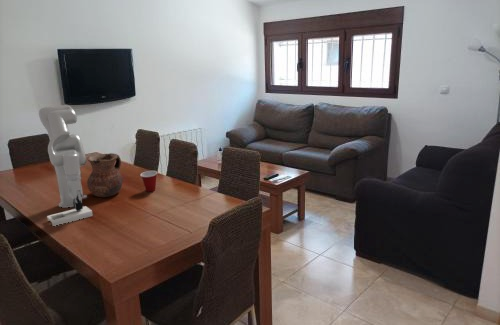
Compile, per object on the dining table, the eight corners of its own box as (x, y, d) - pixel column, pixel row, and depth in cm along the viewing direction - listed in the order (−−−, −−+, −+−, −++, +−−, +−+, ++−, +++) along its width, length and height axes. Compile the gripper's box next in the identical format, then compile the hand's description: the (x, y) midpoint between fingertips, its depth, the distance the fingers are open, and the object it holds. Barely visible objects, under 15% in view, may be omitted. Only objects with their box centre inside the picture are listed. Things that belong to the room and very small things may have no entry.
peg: (82, 213, 206) (79, 193, 203) (84, 215, 203) (81, 194, 200) (73, 215, 203) (70, 194, 200) (76, 217, 200) (73, 196, 197)
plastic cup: (138, 191, 240) (136, 174, 237) (149, 187, 249) (148, 169, 246) (151, 194, 235) (149, 176, 232) (162, 189, 244) (160, 171, 241)
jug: (111, 200, 226) (106, 161, 219) (81, 198, 230) (75, 160, 223) (130, 188, 247) (126, 152, 240) (102, 187, 251) (97, 151, 244)
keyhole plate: (86, 211, 210) (85, 206, 209) (92, 215, 203) (92, 210, 202) (47, 221, 197) (46, 216, 197) (53, 226, 190) (52, 221, 189)
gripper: (61, 174, 201) (66, 206, 206) (71, 181, 189) (76, 214, 194) (75, 172, 206) (80, 203, 210) (86, 178, 194) (90, 210, 199)
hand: (78, 208), depth 202 cm, fingers closed on peg, 3 cm apart
